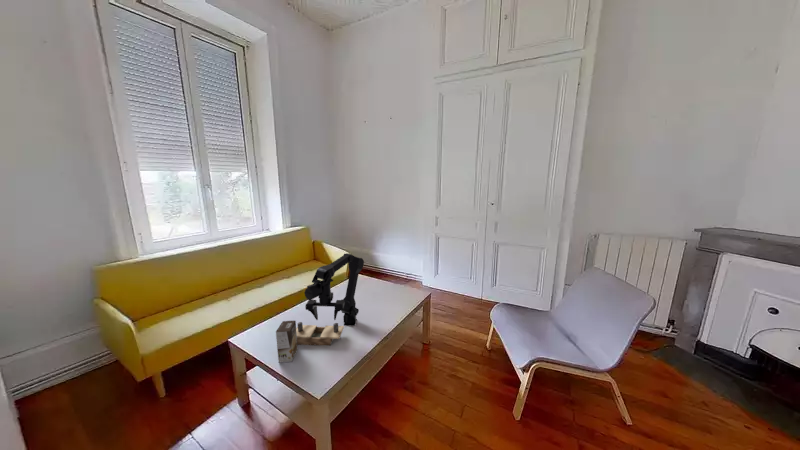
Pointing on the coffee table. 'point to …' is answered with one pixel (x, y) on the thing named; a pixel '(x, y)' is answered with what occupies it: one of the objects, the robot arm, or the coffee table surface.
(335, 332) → the lid
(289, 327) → the coffee box
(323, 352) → the coffee table surface
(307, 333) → the lid
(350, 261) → the robot arm
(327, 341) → the walnut box
